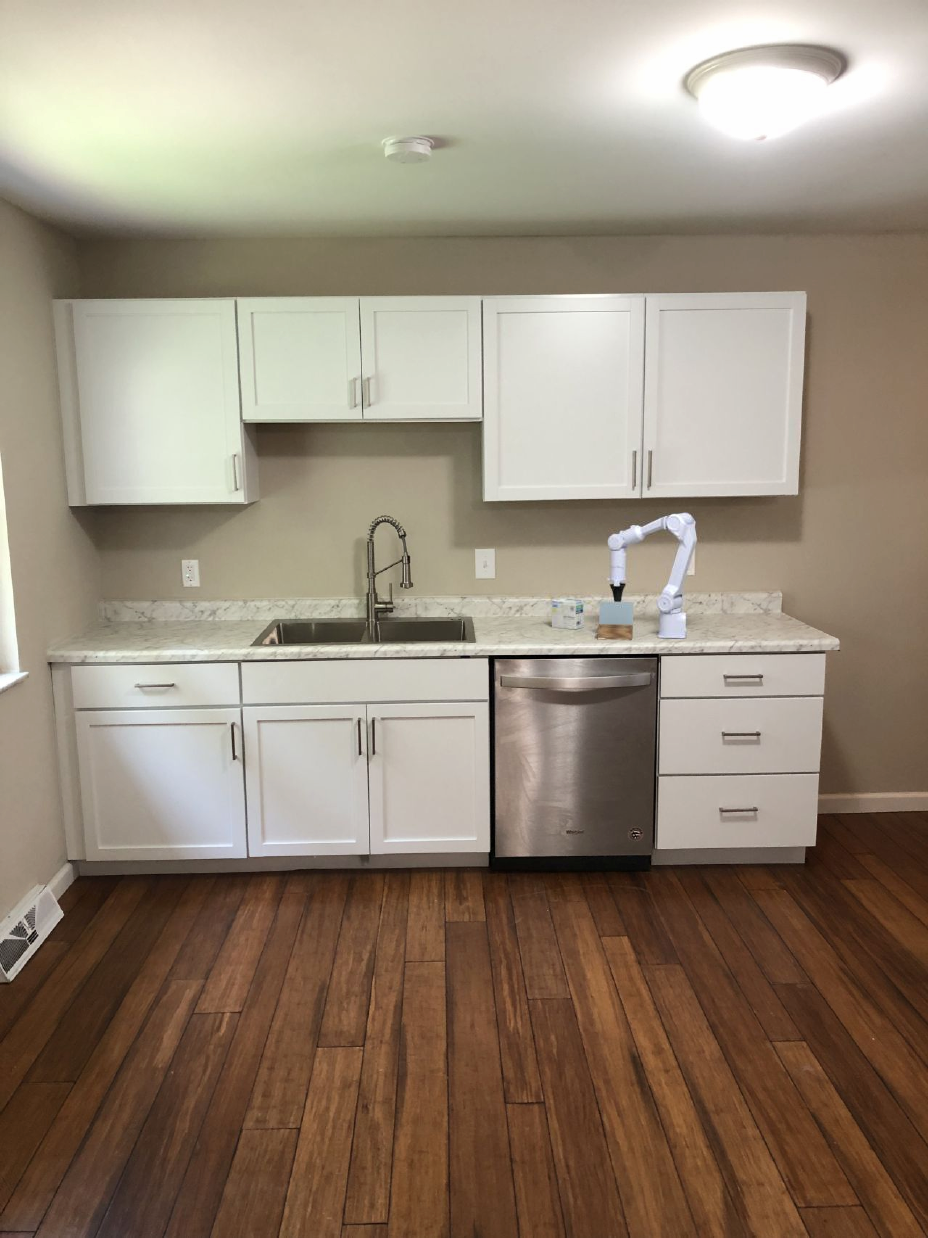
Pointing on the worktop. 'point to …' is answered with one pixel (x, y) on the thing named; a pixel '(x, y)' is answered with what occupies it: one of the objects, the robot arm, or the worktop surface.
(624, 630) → the crate
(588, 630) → the worktop surface
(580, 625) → the light bulb box
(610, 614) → the lid
